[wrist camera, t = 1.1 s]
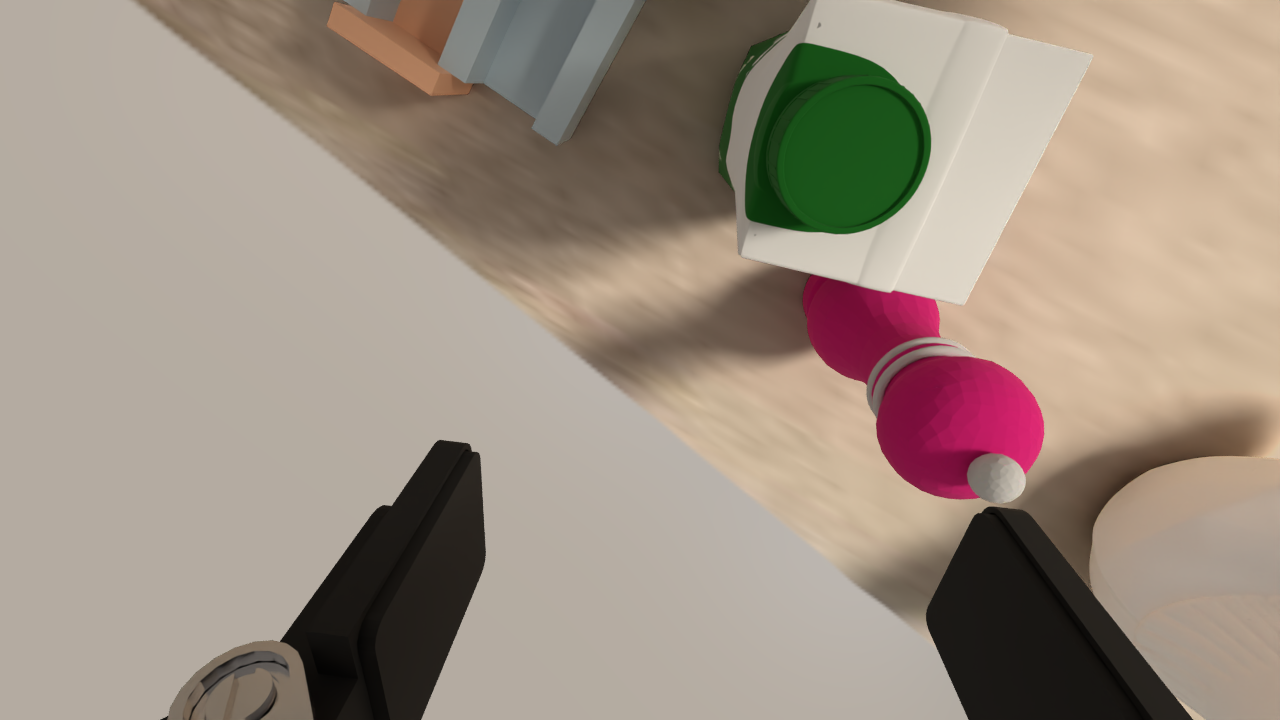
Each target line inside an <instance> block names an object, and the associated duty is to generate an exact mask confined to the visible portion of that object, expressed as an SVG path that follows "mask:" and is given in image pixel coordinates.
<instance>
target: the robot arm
mask: <svg viewBox="0 0 1280 720" xmlns="http://www.w3.org/2000/svg"><path fill="white" fill-rule="evenodd" d="M480 463H481V462H480V455H479V453H478V452H472V450H471V446H470V444H468V443H461V442H452V441H444V440H439V441H437V442H436V443H435V444H434V446H433V447H432V448H431V450H430V451H429V453H428V454H427V456H426V457H425V459H424V460H423V461H422V463H421V464H420V466H419V467H418V469H417V470H416V472H415V473H414V474H413V476H412V477H411V479H410V480H409V482H408V483H407V485H406V486H405V487H404V489H403V490H402V492H401V494H400V495H399V497H398V498H397V499H396V501H395V502H394V503H393V505H392V506H386V505H383V506H381V507H379V508H377V509H376V510H375V512H374V513H373V514H372V515H371V516H370V518H369V519H368V521H367V522H366V523H365V525H364V526H363V527H362V529H361V530H360V532H359V533H358V534H357V536H356V537H355V539H354V540H353V541H352V543H351V544H350V545H349V547H348V548H347V550H346V551H345V552H344V554H343V555H342V557H341V558H340V559H339V561H338V562H337V563H336V565H335V566H334V568H333V569H332V570H331V572H330V573H329V575H328V576H327V577H326V579H325V580H324V581H323V583H322V584H321V586H320V587H319V588H318V590H317V591H316V592H315V594H314V595H313V597H312V598H311V599H310V601H309V602H308V604H307V605H306V606H305V608H304V609H303V610H302V612H301V613H300V615H299V616H298V617H297V619H296V620H295V621H294V623H293V624H292V626H291V627H290V628H289V630H288V631H287V632H286V634H285V635H284V637H283V638H282V640H281V641H280V642H278V641H273V640H270V641H257V642H252V643H249V644H245V645H242V646H239V647H235V648H233V649H231V650H229V651H228V652H226V653H224V654H222V655H220V656H218V657H216V658H214V659H213V660H212V661H210V662H209V663H208V664H206V665H205V666H204V667H202V668H201V669H200V670H199V671H197V672H196V673H195V674H194V675H193V676H192V677H191V678H190V680H189V681H188V682H187V683H186V684H185V685H184V686H183V687H182V688H181V690H180V691H179V693H178V695H177V696H176V698H175V700H174V702H173V703H172V705H171V707H170V711H169V715H168V716H167V717H165V718H163V719H161V720H421V719H422V716H423V714H424V711H425V709H426V706H427V704H428V701H429V699H430V697H431V694H432V692H433V690H434V687H435V685H436V682H437V680H438V677H439V675H440V673H441V670H442V668H443V665H444V663H445V660H446V658H447V656H448V653H449V651H450V648H451V646H452V644H453V641H454V639H455V636H456V634H457V631H458V629H459V627H460V624H461V622H462V619H463V617H464V615H465V612H466V610H467V607H468V605H469V602H470V600H471V598H472V595H473V593H474V590H475V588H476V585H477V583H478V581H479V578H480V576H481V573H482V570H483V567H484V563H485V556H486V551H485V550H486V549H485V532H484V514H483V497H482V480H481V464H480ZM926 621H927V626H928V629H929V632H930V634H931V636H932V638H933V641H934V643H935V645H936V647H937V650H938V652H939V654H940V656H941V659H942V661H943V663H944V665H945V668H946V670H947V672H948V674H949V677H950V679H951V681H952V683H953V686H954V688H955V690H956V692H957V694H958V697H959V699H960V701H961V704H962V706H963V708H964V710H965V712H966V715H967V717H968V719H969V720H1193V719H1192V718H1191V716H1190V715H1189V714H1188V713H1187V711H1186V710H1185V709H1184V708H1183V706H1182V705H1181V704H1180V703H1179V701H1178V700H1177V699H1176V698H1175V696H1174V695H1173V694H1172V693H1171V691H1170V690H1169V689H1168V687H1167V686H1166V685H1165V684H1164V682H1163V681H1162V680H1161V679H1160V677H1159V676H1158V675H1157V674H1156V672H1155V671H1154V670H1153V669H1152V667H1151V666H1150V665H1149V664H1148V662H1147V661H1146V660H1145V659H1144V657H1143V656H1142V655H1141V654H1140V652H1139V651H1138V650H1137V649H1136V647H1135V646H1134V645H1133V644H1132V642H1131V641H1130V640H1129V639H1128V637H1127V636H1126V635H1125V633H1124V632H1123V631H1122V630H1121V628H1120V627H1119V626H1118V625H1117V623H1116V622H1115V621H1114V620H1113V618H1112V617H1111V616H1110V615H1109V613H1108V612H1107V611H1106V610H1105V608H1104V607H1103V606H1102V605H1101V603H1100V602H1099V601H1098V600H1097V598H1096V597H1095V596H1094V595H1093V593H1092V592H1091V591H1090V590H1089V588H1088V587H1087V586H1086V585H1085V583H1084V582H1083V581H1082V579H1081V578H1080V577H1079V576H1078V574H1077V573H1076V572H1075V571H1074V569H1073V568H1072V567H1071V566H1070V564H1069V563H1068V562H1067V561H1066V559H1065V558H1064V557H1063V556H1062V554H1061V553H1060V552H1059V551H1058V549H1057V548H1056V547H1055V546H1054V544H1053V543H1052V542H1051V541H1050V539H1049V538H1048V537H1047V536H1046V534H1045V533H1044V532H1043V531H1042V529H1041V528H1040V527H1039V525H1038V524H1037V523H1036V522H1035V520H1034V519H1033V518H1032V517H1031V516H1030V515H1029V514H1028V513H1027V512H1025V511H1023V510H1017V509H1008V508H1000V507H987V508H986V509H984V511H983V512H982V513H978V514H976V515H975V516H974V517H973V519H972V521H971V523H970V525H969V527H968V529H967V531H966V533H965V535H964V537H963V539H962V541H961V543H960V545H959V547H958V548H957V550H956V552H955V554H954V556H953V558H952V560H951V562H950V564H949V566H948V568H947V570H946V572H945V574H944V576H943V578H942V580H941V582H940V584H939V586H938V588H937V590H936V592H935V594H934V596H933V598H932V600H931V602H930V604H929V606H928V608H927V612H926Z"/></svg>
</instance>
